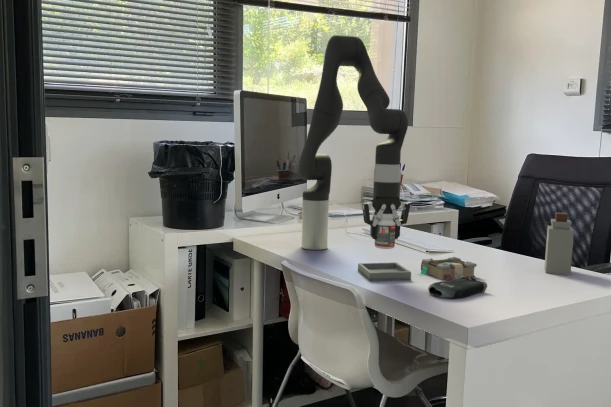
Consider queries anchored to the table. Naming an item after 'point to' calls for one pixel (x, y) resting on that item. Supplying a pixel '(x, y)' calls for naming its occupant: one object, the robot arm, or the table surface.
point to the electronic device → (458, 287)
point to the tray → (384, 271)
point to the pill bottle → (385, 232)
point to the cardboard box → (447, 268)
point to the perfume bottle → (559, 245)
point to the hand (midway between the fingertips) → (384, 238)
